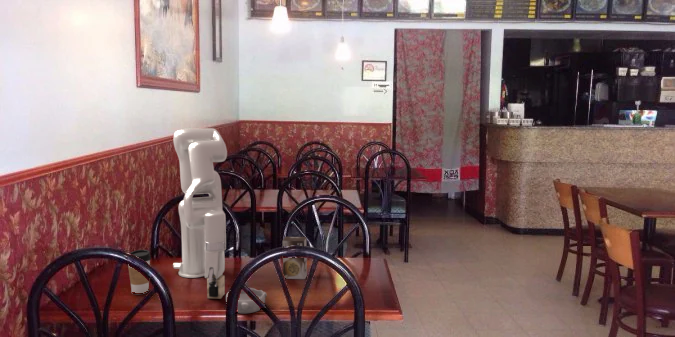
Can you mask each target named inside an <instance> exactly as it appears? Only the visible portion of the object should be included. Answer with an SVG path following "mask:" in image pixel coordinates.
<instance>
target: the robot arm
mask: <svg viewBox="0 0 675 337" xmlns="http://www.w3.org/2000/svg"><path fill="white" fill-rule="evenodd" d="M172 140H173V146H174V150H175V152H176V154H177V157H178V160H179V175H180V176H179V177H180V188H181V191H182V193H184V196H183V199H182V200H181V201H180V202H179V204H178V206H177V207H178V215H179V221H180V231H181V232H180V233H181V261H182V262H173V264H172V267H173V269H175V270H176V269H179V271H178V275H179V276H180V277H182V278H187V279H188V278H189V279H195V278H196V279H197V278H201V277H204V278H205V279H208V282H209V296H210V297H218V286H217V281H218V278H219V277H220V276H221V275H223V273H224V272H225V270H226V269H225V268H226V264H225V262H226V259H225V257H226V256H225V251H226V249H227V233H226V232H227V230H226V229H227V225H226V222H227V220H226V219H227V218H226V213H225V211H224V210H223V196H222V195H223V194H222V193H223V192H222V180H221V177H220V174H219V173H218V171H216V170H215V167H214V163H222V162H225V161H226V159H227V157H228V151H227V150H228V148H227V146H226V143H225V141H224V139H223V137H222V136H221V134H220V133H219V131H218V130H217V129H215V128H211V127H209V128H207V127H206V128H202V127H201V128H199V127H196V128H182V129H178V130H176V131H175V132H174V134H173V139H172ZM204 194H206V195H207V194H208V196H202V197H201V196H200V197H194V195H204ZM213 276H216V277H215V278H213ZM213 279H215V281H213Z"/></svg>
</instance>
